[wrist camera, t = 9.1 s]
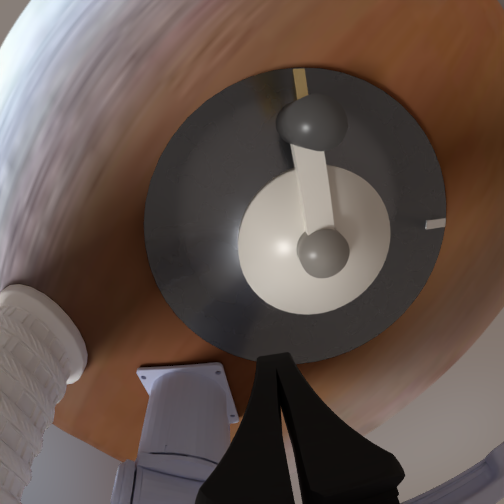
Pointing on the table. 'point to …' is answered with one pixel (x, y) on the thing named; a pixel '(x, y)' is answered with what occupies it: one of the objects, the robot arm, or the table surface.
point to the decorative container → (31, 378)
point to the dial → (313, 220)
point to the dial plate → (253, 179)
